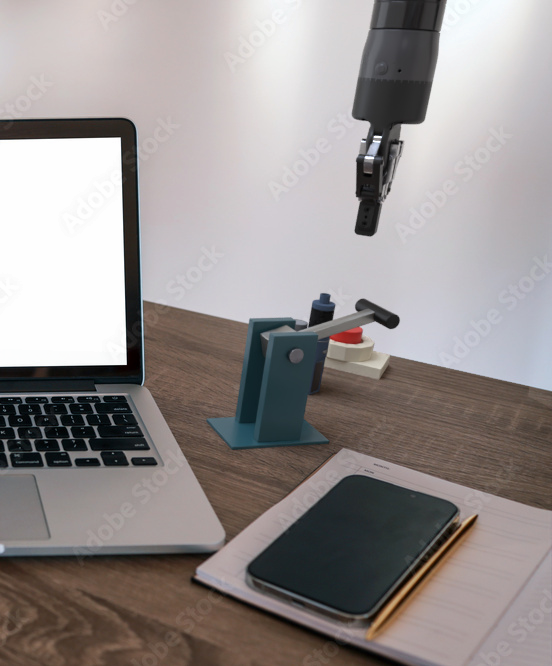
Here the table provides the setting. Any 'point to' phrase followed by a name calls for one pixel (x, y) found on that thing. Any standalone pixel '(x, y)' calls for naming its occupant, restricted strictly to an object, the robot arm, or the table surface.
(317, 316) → the vaping device
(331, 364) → the button box
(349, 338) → the button
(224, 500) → the table surface
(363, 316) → the lever
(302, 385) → the bracket
